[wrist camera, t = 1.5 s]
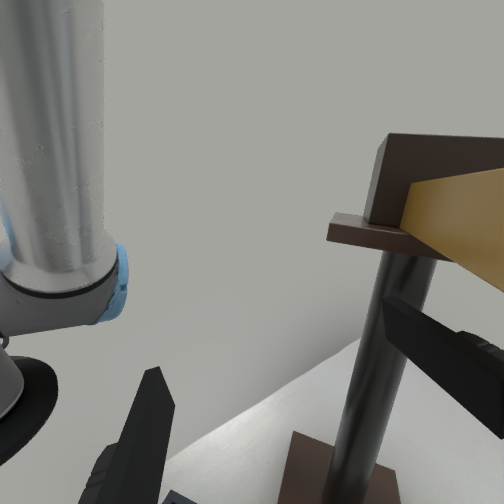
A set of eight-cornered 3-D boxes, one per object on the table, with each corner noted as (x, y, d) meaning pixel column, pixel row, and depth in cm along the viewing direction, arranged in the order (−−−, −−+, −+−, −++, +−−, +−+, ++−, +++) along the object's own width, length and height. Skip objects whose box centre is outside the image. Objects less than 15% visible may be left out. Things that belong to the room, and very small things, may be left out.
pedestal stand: (417, 643, 20) (596, 264, 12) (265, 557, 23) (328, 224, 15) (391, 480, 31) (475, 230, 23) (291, 440, 34) (335, 211, 26)
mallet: (877, 369, 4) (1274, -98, 3) (410, 278, 6) (495, -20, 5) (451, 228, 22) (474, 153, 20) (362, 216, 24) (378, 147, 22)
